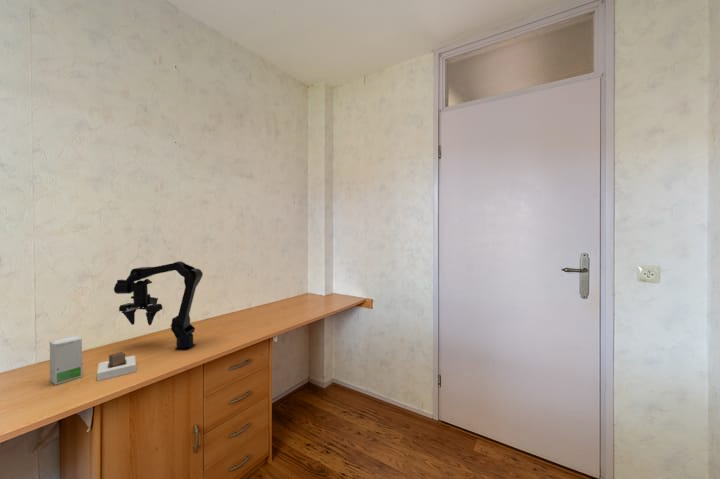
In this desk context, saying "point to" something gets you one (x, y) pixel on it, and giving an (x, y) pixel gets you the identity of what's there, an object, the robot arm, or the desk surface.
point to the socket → (116, 369)
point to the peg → (116, 359)
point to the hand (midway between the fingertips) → (141, 324)
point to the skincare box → (65, 359)
